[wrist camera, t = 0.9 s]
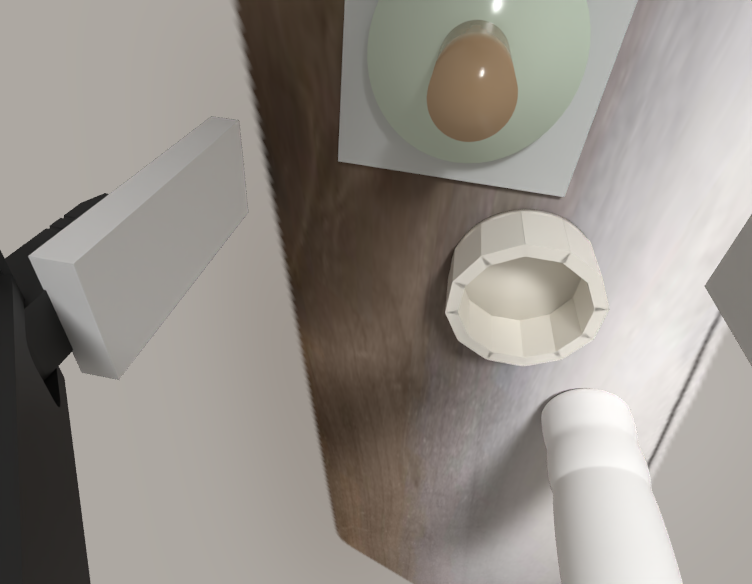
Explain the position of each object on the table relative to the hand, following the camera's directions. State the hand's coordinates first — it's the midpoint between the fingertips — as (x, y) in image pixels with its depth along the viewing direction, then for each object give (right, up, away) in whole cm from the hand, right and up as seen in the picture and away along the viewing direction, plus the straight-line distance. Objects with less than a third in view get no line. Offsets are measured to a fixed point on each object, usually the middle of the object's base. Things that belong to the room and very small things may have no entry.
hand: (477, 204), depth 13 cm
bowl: (+7, -1, +20) cm, 22 cm away
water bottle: (+15, -12, +28) cm, 34 cm away
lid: (+2, +10, +12) cm, 16 cm away
